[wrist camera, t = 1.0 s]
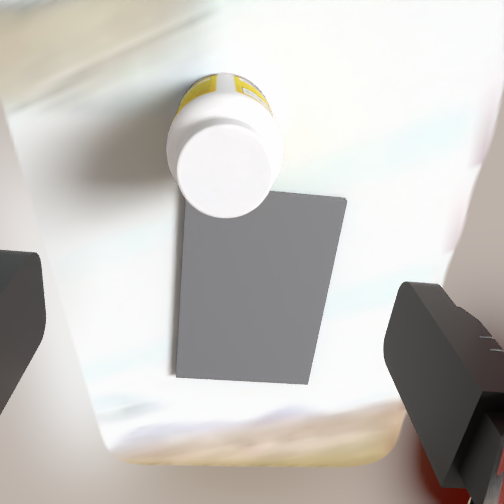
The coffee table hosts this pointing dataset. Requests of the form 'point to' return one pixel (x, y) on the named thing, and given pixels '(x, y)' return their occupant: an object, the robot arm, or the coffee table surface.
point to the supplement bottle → (224, 146)
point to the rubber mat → (256, 288)
